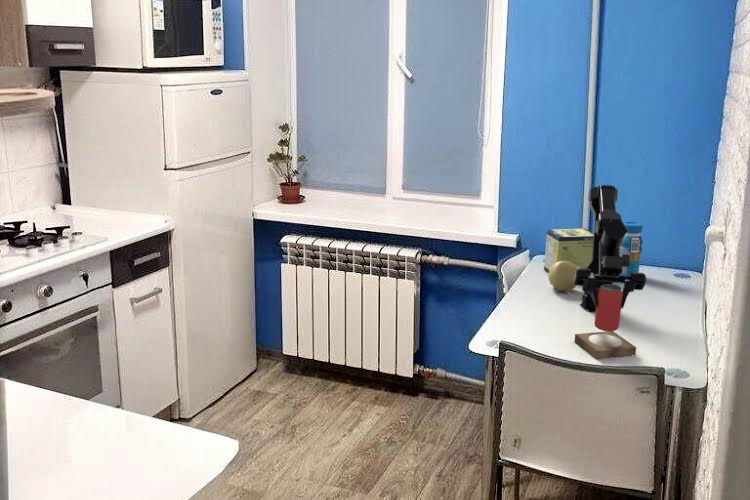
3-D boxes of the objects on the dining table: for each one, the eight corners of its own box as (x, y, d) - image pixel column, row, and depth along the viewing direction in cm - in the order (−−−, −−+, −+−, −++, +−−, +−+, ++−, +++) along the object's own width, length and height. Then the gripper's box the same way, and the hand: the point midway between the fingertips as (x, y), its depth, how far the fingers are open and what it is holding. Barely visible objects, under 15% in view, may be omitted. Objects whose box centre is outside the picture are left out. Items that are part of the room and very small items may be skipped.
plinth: (611, 338, 221) (612, 330, 221) (635, 355, 210) (636, 347, 209) (574, 342, 218) (575, 333, 218) (596, 359, 207) (597, 350, 206)
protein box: (594, 276, 277) (599, 235, 273) (554, 278, 274) (558, 236, 270) (581, 267, 287) (585, 227, 283) (542, 269, 284) (546, 229, 279)
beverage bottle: (611, 277, 276) (617, 224, 271) (617, 271, 283) (623, 219, 278) (635, 281, 272) (642, 227, 267) (641, 275, 279) (647, 222, 273)
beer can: (623, 331, 211) (628, 290, 207) (602, 333, 209) (607, 291, 205) (609, 322, 217) (614, 282, 213) (589, 324, 215) (593, 284, 211)
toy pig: (586, 296, 256) (589, 266, 253) (550, 295, 256) (553, 265, 253) (579, 286, 266) (582, 257, 263) (544, 285, 266) (547, 256, 263)
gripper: (579, 240, 211) (577, 291, 204) (649, 245, 208) (650, 297, 201) (574, 259, 221) (573, 308, 214) (641, 264, 218) (642, 314, 211)
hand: (609, 306), depth 209 cm, fingers closed on beer can, 6 cm apart
